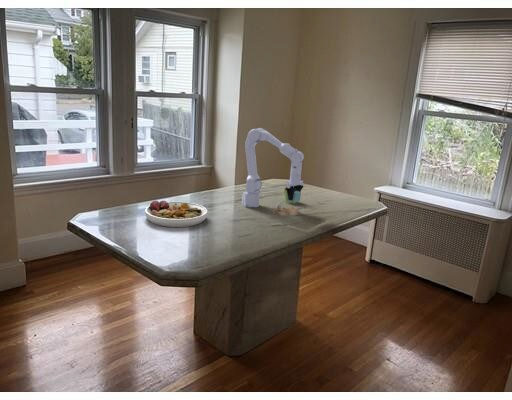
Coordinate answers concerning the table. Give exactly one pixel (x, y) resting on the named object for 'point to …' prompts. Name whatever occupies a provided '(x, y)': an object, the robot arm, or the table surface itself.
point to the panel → (286, 211)
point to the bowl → (175, 213)
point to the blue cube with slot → (295, 197)
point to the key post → (278, 207)
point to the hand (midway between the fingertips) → (293, 199)
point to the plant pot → (286, 196)
